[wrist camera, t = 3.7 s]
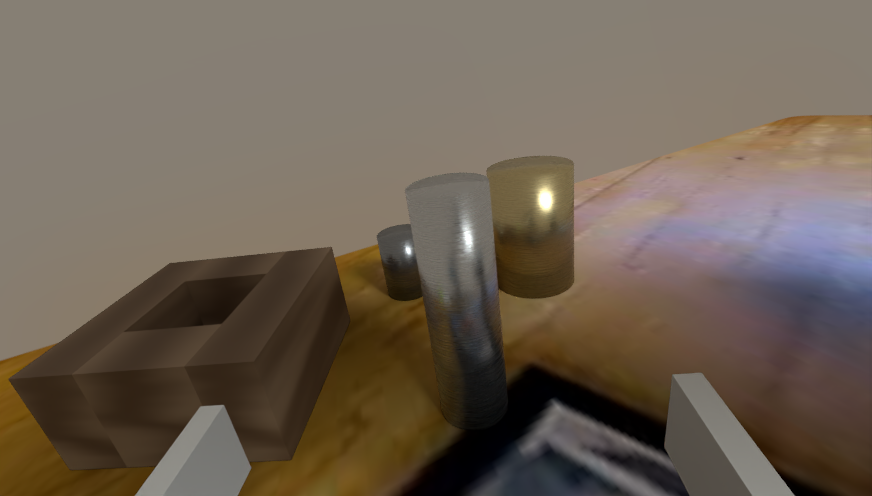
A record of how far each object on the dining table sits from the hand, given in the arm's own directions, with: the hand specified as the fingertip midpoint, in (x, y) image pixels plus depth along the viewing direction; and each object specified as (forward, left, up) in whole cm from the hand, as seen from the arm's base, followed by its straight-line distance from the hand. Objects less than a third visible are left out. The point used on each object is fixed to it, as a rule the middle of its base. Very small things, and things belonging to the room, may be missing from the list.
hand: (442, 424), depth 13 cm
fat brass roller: (-5, -21, -7) cm, 23 cm away
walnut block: (+15, -11, -7) cm, 19 cm away
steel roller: (0, -8, -7) cm, 11 cm away
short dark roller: (+5, -21, -7) cm, 22 cm away
